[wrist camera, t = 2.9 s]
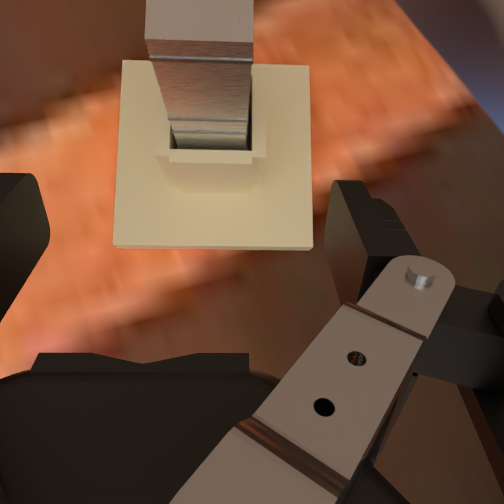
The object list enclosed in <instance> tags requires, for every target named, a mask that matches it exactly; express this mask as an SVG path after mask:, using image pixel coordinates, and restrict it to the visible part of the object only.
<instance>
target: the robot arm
mask: <svg viewBox="0 0 504 504" xmlns="http://www.w3.org/2000/svg"><path fill="white" fill-rule="evenodd" d="M49 239H50V226H49V222H48V218H47V215H46V211H45V207H44V204H43V200H42V197H41V193H40V190H39V186H38V183H37V180H36V178H35V177H34V175H32V174H30V173H0V322H1V321H2V319H3V317H4V316H5V314H6V312H7V311H8V309H9V308H10V306H11V304H12V303H13V301H14V300H15V298H16V296H17V295H18V293H19V291H20V290H21V288H22V287H23V285H24V283H25V282H26V280H27V278H28V277H29V275H30V274H31V272H32V270H33V269H34V267H35V266H36V264H37V262H38V261H39V259H40V257H41V256H42V254H43V253H44V251H45V249H46V248H47V246H48V243H49ZM324 245H325V251H326V255H327V258H328V262H329V265H330V269H331V272H332V276H333V279H334V283H335V286H336V290H337V293H338V297H339V300H340V304H341V308H340V309H339V310H338V311H337V312H336V314H335V315H334V316H333V317H332V319H331V320H330V321H329V322H328V324H327V325H326V326H325V327H324V328H323V330H322V331H321V332H320V333H319V335H318V336H317V337H316V338H315V339H314V341H313V342H312V343H311V344H310V346H309V347H308V348H307V349H306V351H305V352H304V353H303V354H302V355H301V357H300V358H299V359H298V360H297V362H296V363H295V364H294V365H293V366H292V368H291V369H290V370H289V371H288V373H287V374H286V375H285V376H284V378H283V379H282V380H280V379H278V378H276V377H273V376H271V375H269V374H266V373H263V372H260V371H257V370H253V369H249V353H196V354H191V355H186V356H181V357H176V358H171V359H166V360H161V361H156V362H151V363H145V364H140V363H135V362H130V361H126V360H121V359H117V358H112V357H108V356H103V355H99V354H94V353H39V354H38V356H37V358H36V360H35V362H34V364H33V366H32V368H31V370H27V371H23V372H19V373H16V374H12V375H10V376H7V377H4V378H2V379H0V504H410V503H409V502H408V501H407V500H406V499H405V498H404V497H403V496H402V495H401V494H400V493H399V492H398V491H397V490H396V489H395V488H394V487H393V486H392V485H391V484H390V483H389V482H388V481H387V480H386V479H385V478H384V477H383V476H382V475H381V474H380V473H379V472H378V471H377V470H376V469H375V468H374V467H375V465H376V463H377V461H378V459H379V457H380V454H381V452H382V450H383V448H384V445H385V443H386V441H387V439H388V436H389V434H390V432H391V430H392V428H393V426H394V424H395V422H396V420H397V418H398V416H399V414H400V412H401V410H402V408H403V406H404V404H405V402H406V400H407V398H408V396H409V394H410V392H411V390H412V388H413V386H414V384H415V382H416V380H417V378H418V376H419V374H422V375H426V376H429V377H433V378H437V379H441V380H444V381H448V382H452V383H456V384H457V387H458V389H459V391H460V394H461V396H462V398H463V401H464V403H465V405H466V408H467V410H468V412H469V415H470V417H471V420H472V422H473V424H474V427H475V429H476V431H477V434H478V436H479V438H480V441H481V443H482V445H483V448H484V450H485V453H486V455H487V457H488V460H489V462H490V464H491V467H492V469H493V471H494V474H495V476H496V478H497V481H498V483H499V486H500V488H501V490H502V493H503V495H504V280H503V281H501V282H500V283H499V285H498V287H497V289H496V291H495V293H494V294H493V293H488V292H483V291H479V290H474V289H469V288H465V287H461V286H458V285H455V279H454V277H453V275H452V273H451V272H450V271H449V270H448V269H447V268H446V267H444V266H443V265H441V264H440V263H438V262H436V261H433V260H431V259H428V258H425V257H422V256H421V254H420V253H419V251H418V249H417V248H416V246H415V244H414V243H413V241H412V239H411V237H410V236H409V234H408V232H407V231H405V227H404V225H403V224H402V222H400V219H399V217H398V215H397V213H396V212H395V210H394V208H392V207H391V206H390V205H388V204H387V203H386V202H384V201H383V200H382V199H376V198H371V196H370V194H369V192H368V190H367V189H366V187H365V185H364V183H363V181H355V180H334V182H333V184H332V188H331V194H330V200H329V206H328V212H327V219H326V225H325V233H324Z"/></svg>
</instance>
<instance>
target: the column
mask: <svg viewBox="0 0 504 504" xmlns="http://www.w3.org/2000/svg"><path fill="white" fill-rule="evenodd" d="M145 42H146V45H147V48H148V52H149V60H150V62H152V65H153V68H154V71H155V74H156V78H157V81H158V84H159V87H160V91H161V94H162V97H163V100H164V104H165V107H166V110H167V114H168V121H170V123H171V127H172V133H174V136H175V140H176V143H177V146H178V149H188V150H238V151H246V135H247V122H248V105H249V92H250V79H251V66H252V65H253V0H146V19H145Z"/></svg>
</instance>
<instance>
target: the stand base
mask: <svg viewBox="0 0 504 504" xmlns="http://www.w3.org/2000/svg"><path fill="white" fill-rule="evenodd" d="M113 246H115V247H116V248H118V249H207V250H310V249H312V248H313V218H312V170H311V123H310V76H309V65H278V64H253V65H252V66H251V79H250V92H249V105H248V122H247V135H246V151H238V150H188V149H178V146H177V143H176V140H175V136H174V133H172V127H171V123H170V121H168V114H167V110H166V107H165V104H164V100H163V97H162V94H161V91H160V87H159V84H158V81H157V78H156V74H155V71H154V68H153V65H152V62H150V61H141V60H123V63H122V81H121V99H120V117H119V136H118V154H117V172H116V191H115V209H114V227H113Z"/></svg>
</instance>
